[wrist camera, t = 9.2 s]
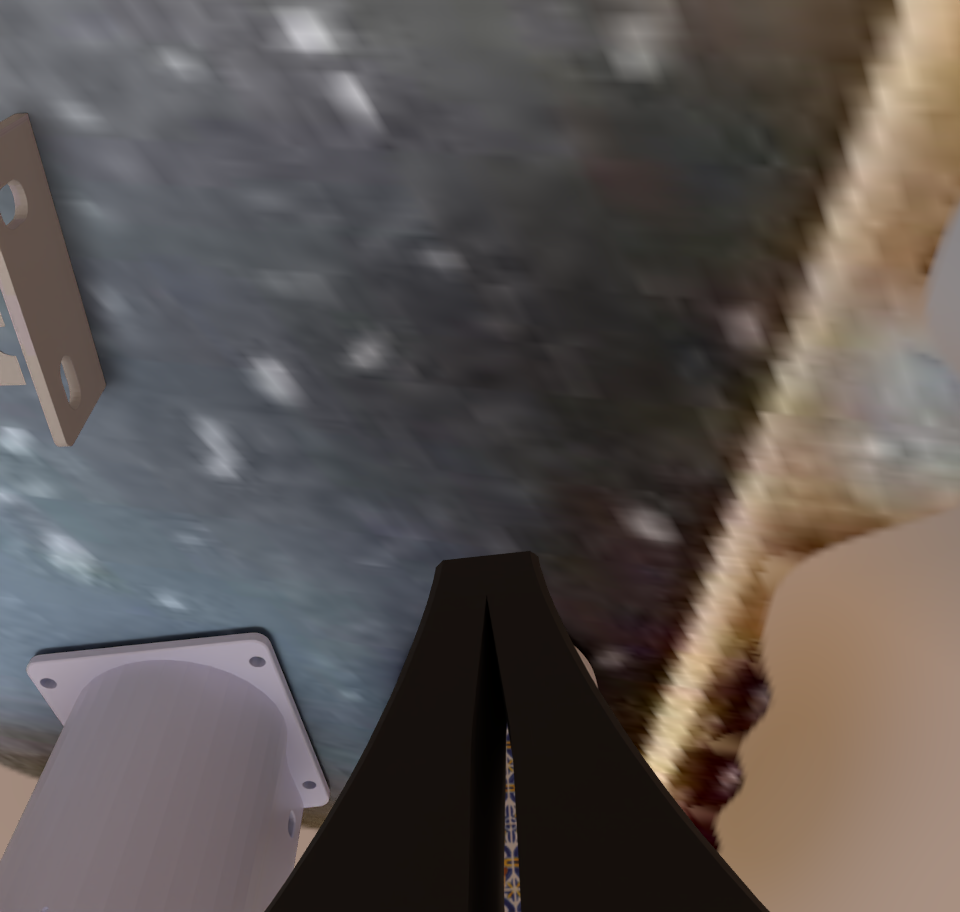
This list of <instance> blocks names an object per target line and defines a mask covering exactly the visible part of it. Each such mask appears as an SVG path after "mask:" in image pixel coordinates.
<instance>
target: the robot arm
mask: <svg viewBox="0 0 960 912" xmlns="http://www.w3.org/2000/svg"><path fill="white" fill-rule="evenodd" d="M258 657H261V658H258ZM26 671H27V674H28V675H29V677H30V678H31V680H32V681H33V683H34V684H35V685H36V687H37V688H38V690H39V691H40V693H41V694H42V696H43V697H44V699H45V700H46V701H47V703H48V704H49V706H50V707H51V709H52V710H53V712H54V713H55V715H56V716H57V718H58V719H59V720H60V722H61V723H62V725H63V726H64V727H63V729H62V731H61V734H60V736H59V738H58V740H57V742H56V744H55V746H54V748H53V751H52V753H51V755H50V757H49V759H48V761H47V763H46V765H45V768H44V770H43V772H42V774H41V776H40V778H39V780H38V782H37V784H36V787H35V789H34V791H33V793H32V795H31V797H30V799H29V801H28V804H27V806H26V808H25V810H24V812H23V814H22V817H21V818H20V821H19V823H18V825H17V827H16V829H15V831H14V833H13V836H12V838H11V840H10V842H9V844H8V846H7V848H6V850H5V852H4V854H3V857H2V859H1V861H0V912H505V908H504V850H505V796H506V736H507V727H508V733H509V739H510V745H511V750H512V756H513V769H514V786H515V804H516V822H517V841H518V860H519V879H520V900H521V912H769V911H768V909H766V907H765V906H764V905H763V904H762V903H761V902H760V901H759V900H758V899H757V898H756V896H755V895H754V894H753V893H752V892H751V891H750V889H749V888H748V887H747V886H746V885H745V884H744V882H743V881H742V880H741V879H740V878H739V877H738V876H737V874H736V873H735V872H734V871H733V870H732V869H731V868H730V866H729V865H728V864H727V863H726V862H725V860H724V859H723V858H722V857H721V856H720V855H719V853H718V852H717V851H716V850H715V849H714V848H713V847H712V845H711V844H710V843H709V842H708V841H707V840H706V838H705V837H704V836H703V835H702V834H701V833H700V831H699V830H698V829H697V828H696V826H695V825H694V824H693V823H692V821H691V820H690V819H689V818H688V816H687V815H686V814H685V812H684V811H683V810H682V809H681V807H680V806H679V805H678V804H677V802H676V801H675V800H674V798H673V797H672V796H671V795H670V793H669V792H668V791H667V789H666V788H665V787H664V785H663V784H662V783H661V781H660V780H659V779H658V777H657V776H656V774H655V773H654V772H653V770H652V769H651V768H650V766H649V765H648V764H647V762H646V761H645V759H644V758H643V757H642V755H641V754H640V752H639V751H638V749H637V748H636V747H635V745H634V744H633V742H632V741H631V739H630V738H629V736H628V735H627V733H626V732H625V730H624V729H623V727H622V726H621V724H620V723H619V721H618V720H617V718H616V716H615V715H614V713H613V712H612V710H611V709H610V707H609V705H608V704H607V702H606V701H605V699H604V698H603V696H602V694H601V693H600V691H599V689H598V688H597V686H596V684H595V682H594V681H593V679H592V677H591V676H590V674H589V672H588V670H587V668H586V667H585V665H584V663H583V661H582V659H581V657H580V656H579V654H578V652H577V650H576V648H575V647H574V645H573V643H572V641H571V639H570V637H569V635H568V633H567V631H566V629H565V627H564V625H563V623H562V621H561V619H560V616H559V614H558V612H557V610H556V608H555V605H554V603H553V601H552V598H551V596H550V593H549V591H548V588H547V586H546V583H545V580H544V577H543V574H542V570H541V567H540V563H539V558H538V556H537V555H535V554H534V553H532V552H531V551H526V552H516V553H507V554H498V555H488V556H479V557H470V558H460V559H451V560H443V561H442V562H441V563H440V564H439V565H438V566H437V567H436V571H435V575H434V580H433V584H432V587H431V591H430V595H429V598H428V601H427V605H426V608H425V611H424V614H423V617H422V619H421V622H420V625H419V628H418V631H417V633H416V636H415V639H414V642H413V644H412V647H411V649H410V651H409V654H408V656H407V659H406V661H405V664H404V666H403V669H402V671H401V673H400V676H399V678H398V681H397V683H396V685H395V688H394V690H393V692H392V694H391V697H390V699H389V701H388V703H387V705H386V707H385V709H384V711H383V713H382V715H381V717H380V719H379V721H378V724H377V726H376V728H375V730H374V732H373V734H372V736H371V738H370V740H369V742H368V744H367V746H366V748H365V750H364V752H363V754H362V756H361V758H360V759H359V761H358V763H357V765H356V767H355V769H354V771H353V772H352V774H351V776H350V778H349V780H348V781H347V783H346V785H345V787H344V789H343V790H342V792H341V794H340V795H339V797H338V799H337V801H336V802H335V804H334V806H333V807H332V809H331V811H330V813H329V814H328V816H327V818H326V819H325V821H324V822H323V824H322V826H321V827H320V829H319V830H318V832H317V833H316V835H315V837H314V838H313V840H312V841H311V843H310V844H309V846H308V848H307V849H306V851H305V852H304V854H303V855H302V857H301V858H300V860H299V862H298V863H297V865H296V866H295V868H294V863H295V857H296V851H297V845H298V839H299V833H300V827H301V821H302V815H303V808H308V807H318V806H323V805H325V804H326V803H327V802H328V801H329V796H330V790H329V787H328V785H327V782H326V780H325V777H324V775H323V772H322V770H321V767H320V765H319V762H318V760H317V757H316V755H315V752H314V750H313V747H312V745H311V742H310V740H309V737H308V735H307V732H306V730H305V727H304V725H303V722H302V720H301V717H300V715H299V712H298V710H297V707H296V705H295V702H294V700H293V697H292V695H291V692H290V690H289V687H288V685H287V682H286V680H285V677H284V675H283V672H282V670H281V667H280V665H279V662H278V659H277V657H276V654H275V652H274V649H273V647H272V644H271V642H270V640H269V639H268V638H267V637H266V636H264V635H263V634H260V633H243V634H234V635H224V636H215V637H205V638H196V639H186V640H176V641H167V642H157V643H148V644H138V645H129V646H119V647H110V648H100V649H90V650H81V651H71V652H62V653H52V654H43V655H37V656H34V657H33V658H32V659H31V660H30V662H29V664H28V665H27V668H26Z"/></svg>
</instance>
